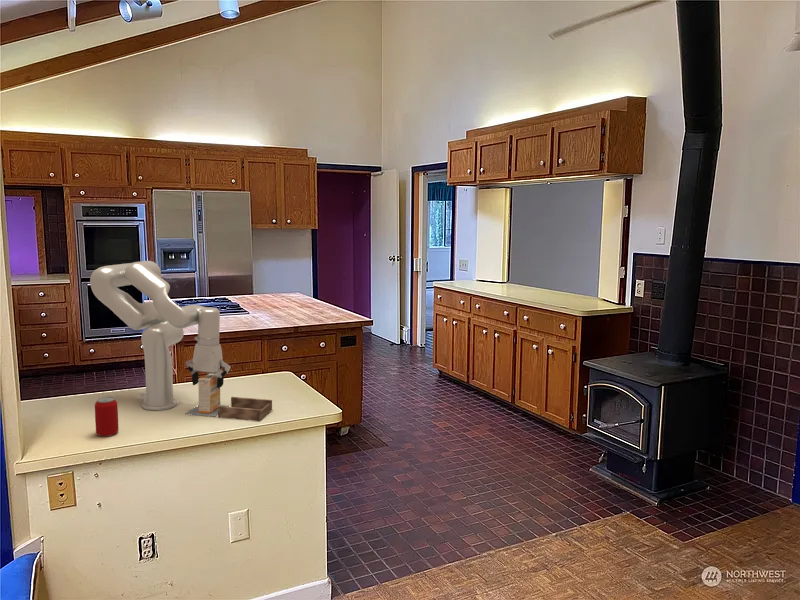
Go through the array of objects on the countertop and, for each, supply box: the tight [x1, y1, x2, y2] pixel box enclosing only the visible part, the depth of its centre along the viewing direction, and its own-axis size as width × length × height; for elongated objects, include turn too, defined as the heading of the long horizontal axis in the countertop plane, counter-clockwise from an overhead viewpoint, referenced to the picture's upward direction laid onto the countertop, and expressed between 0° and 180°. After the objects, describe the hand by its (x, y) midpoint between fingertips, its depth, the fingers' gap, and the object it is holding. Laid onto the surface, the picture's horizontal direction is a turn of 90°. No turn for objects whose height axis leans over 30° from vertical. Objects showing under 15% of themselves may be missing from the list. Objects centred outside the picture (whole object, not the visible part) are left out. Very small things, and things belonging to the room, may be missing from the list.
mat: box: [184, 404, 230, 418], centre depth 220 cm, size 12×12×1 cm
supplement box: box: [197, 373, 221, 414], centre depth 219 cm, size 8×5×13 cm, turn 169°
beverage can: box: [94, 396, 119, 437], centre depth 194 cm, size 7×7×12 cm
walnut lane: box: [217, 396, 273, 422], centre depth 218 cm, size 16×12×4 cm
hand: (207, 385), depth 219 cm, fingers open, 9 cm apart
